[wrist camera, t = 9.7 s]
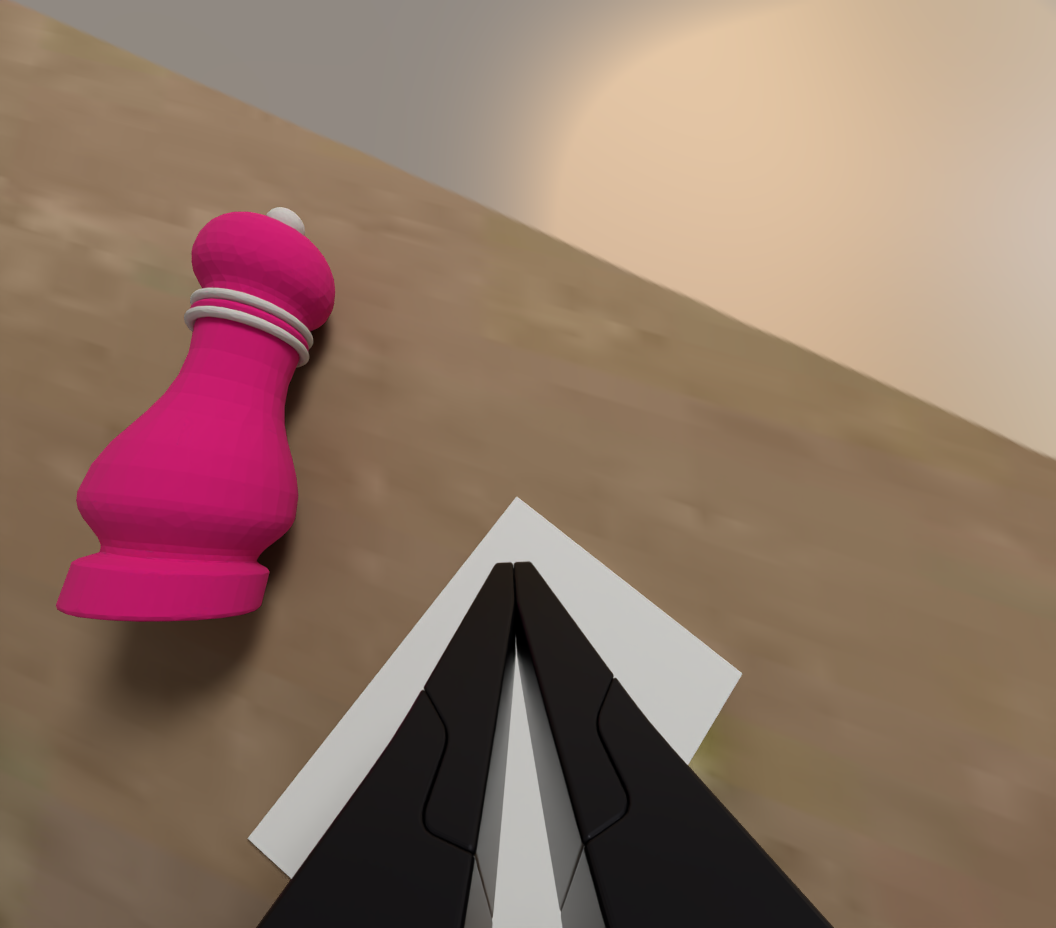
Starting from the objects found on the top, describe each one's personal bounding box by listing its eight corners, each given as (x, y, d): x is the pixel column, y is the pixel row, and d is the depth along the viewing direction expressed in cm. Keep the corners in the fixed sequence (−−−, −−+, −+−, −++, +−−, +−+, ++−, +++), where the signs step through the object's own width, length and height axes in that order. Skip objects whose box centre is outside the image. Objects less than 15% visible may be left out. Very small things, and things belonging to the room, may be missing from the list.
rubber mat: (503, 1067, 17) (503, 1073, 17) (250, 835, 18) (247, 838, 18) (740, 672, 20) (742, 673, 20) (516, 496, 21) (516, 496, 21)
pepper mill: (266, 626, 14) (370, 198, 19) (-30, 625, 11) (185, 106, 16) (277, 598, 21) (354, 280, 25) (90, 592, 17) (219, 226, 22)
